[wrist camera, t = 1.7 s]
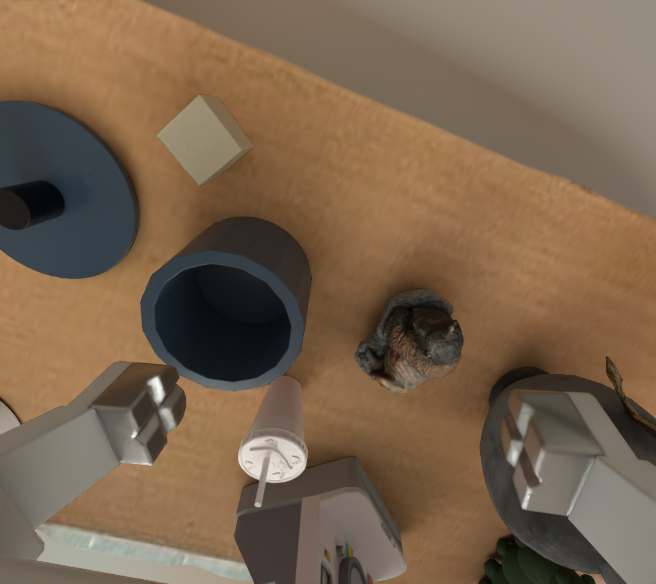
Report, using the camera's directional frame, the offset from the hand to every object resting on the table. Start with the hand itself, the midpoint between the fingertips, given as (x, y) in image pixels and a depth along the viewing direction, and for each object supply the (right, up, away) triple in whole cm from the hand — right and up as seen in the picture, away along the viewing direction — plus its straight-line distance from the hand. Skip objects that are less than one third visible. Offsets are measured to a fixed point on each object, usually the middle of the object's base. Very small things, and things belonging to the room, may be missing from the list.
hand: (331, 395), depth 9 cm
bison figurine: (+7, -1, +28) cm, 29 cm away
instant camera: (-1, -29, +42) cm, 51 cm away
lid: (-24, +11, +22) cm, 35 cm away
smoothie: (-5, -9, +32) cm, 34 cm away
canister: (-8, +4, +26) cm, 28 cm away
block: (-9, +15, +21) cm, 27 cm away
